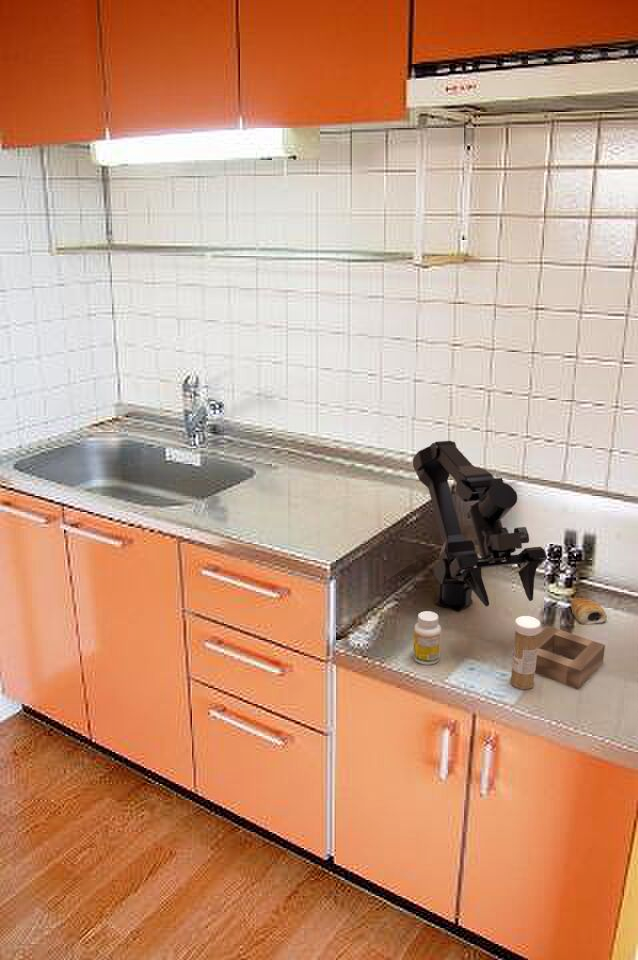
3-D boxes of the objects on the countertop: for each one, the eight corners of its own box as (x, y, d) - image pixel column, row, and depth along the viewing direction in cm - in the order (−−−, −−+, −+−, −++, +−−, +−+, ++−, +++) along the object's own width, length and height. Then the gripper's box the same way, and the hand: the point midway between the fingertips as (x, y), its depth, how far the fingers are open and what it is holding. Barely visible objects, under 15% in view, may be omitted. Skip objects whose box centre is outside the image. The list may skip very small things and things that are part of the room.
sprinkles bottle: (506, 677, 152) (511, 615, 148) (529, 676, 153) (535, 614, 148) (514, 691, 148) (520, 627, 144) (538, 689, 148) (544, 626, 144)
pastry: (562, 606, 180) (564, 591, 179) (591, 604, 181) (593, 589, 180) (580, 626, 171) (582, 610, 170) (609, 624, 172) (611, 609, 171)
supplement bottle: (435, 667, 156) (437, 624, 153) (409, 662, 158) (411, 619, 155) (442, 654, 160) (445, 612, 157) (417, 649, 162) (419, 607, 159)
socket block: (519, 667, 156) (521, 649, 154) (546, 642, 164) (548, 625, 163) (578, 689, 148) (580, 670, 147) (602, 662, 157) (605, 645, 156)
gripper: (458, 517, 151) (479, 595, 144) (547, 508, 155) (571, 584, 148) (441, 539, 160) (459, 613, 154) (524, 531, 164) (546, 602, 158)
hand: (509, 603), depth 153 cm, fingers open, 9 cm apart
